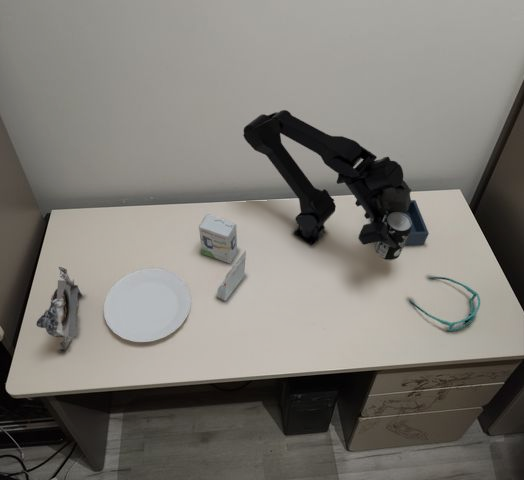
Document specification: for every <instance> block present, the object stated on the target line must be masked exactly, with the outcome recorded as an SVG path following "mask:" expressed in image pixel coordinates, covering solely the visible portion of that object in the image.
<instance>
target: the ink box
mask: <svg viewBox="0 0 524 480" xmlns="http://www.w3.org/2000/svg"><path fill="white" fill-rule="evenodd" d="M198 230H199V232H198V233H199V239H200V246H201V253H202V255H204V256H207V257H210V258H213V259H216V260H218V261H221V262H225V263H228V264H231V263H232V262H233V260H234V258H235V256H236V255H237V252H238V237H237V236H238V235H237V232H238V231H237V224H236V223H234V222H233V221H231V220H228V219H227V220H226V219H223V218H222V217H218V216H216V215H212V214H209V213H208V214H206V215H205V216H204V217H203V219H202V220H201V222H200V224H199V225H198Z"/></svg>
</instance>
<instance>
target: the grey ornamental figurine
mask: <svg viewBox="0 0 524 480" xmlns="http://www.w3.org/2000/svg"><path fill="white" fill-rule="evenodd" d="M58 270H59V275H60V276H59V277H60V278H59V279H58V280H57V288H56V289H55V290H54V292H53V294H52V295H51V297H50V305H49V307H48V308H47V309H45V311H44V313H43V314H41V316H40V317H39V318H38V319H37V321H36V324H35V325H36V327H37V328H40V329H45V331H46V333H47V334H48V335H49V336H51V337H53V338H62V341H61V342H60V343H59V345H58V346H59V348H60V349H59V350H58V351H59V352H60V353H62V352H65V351H67V350H68V348H69V347H70V346H71V342H72V340H73V338H76V334H77V320H78V319H77V318H78V316H77V310H78V306H79V303H78V300H79V298H82V297H83V294H82V292H81V291H80V289H79V285H77V284H75V279H74V278H73V279H71V278H70V276H69V274H68V270H67V268H64V267H61V266H58Z"/></svg>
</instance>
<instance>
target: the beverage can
mask: <svg viewBox="0 0 524 480" xmlns="http://www.w3.org/2000/svg"><path fill="white" fill-rule="evenodd" d="M384 223H385V224H386V226H391V228H390V231H389V232H390V234H391V235H392V237H393V239H394V240H395V242H396V244H397V247H394V248H393V247H391V246H389V245H386V244H384V243H382V242H380V241H379V242H375V244H374V245H375V246H374V250H375V252H376V255H378V256H379V257H380V258H382V259H383V260H386V261H393V260H396V259H398V258H399V257H400V256H401V254H402V252H403V249H404V247H405V246H404V245H405V242H406V240H407V238H408V236H409V234H410V231H411V220H410V218H409V217H408V216H407V215H405V214H403V213H400V212H394V213H391V214H390V215H389V216H388V217H387V218H386V219H385V221H384Z"/></svg>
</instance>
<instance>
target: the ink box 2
mask: <svg viewBox="0 0 524 480" xmlns="http://www.w3.org/2000/svg"><path fill="white" fill-rule="evenodd" d="M246 257H247V252H246V250H244V252H243V253H242V254H241V255H240V257H239V258H238V260H237V261H236V262H235V263H234V265H233V266H232V267H231V268H230V269H229V271H228V272H227V274H226V275H225V278H224V280H223V282H222V283H221V284H220V286H218V288H217V298H218V299H219V300H222V301H224V302H226V301H227V300H228V299H229V297H230V296H231V295H232V293H233V292H234V291H235V289H237V286H238V285H239V284H240V283H241V281H242V280H243V279H244V278H245V272H246V271H245V270H246V259H247V258H246Z"/></svg>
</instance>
